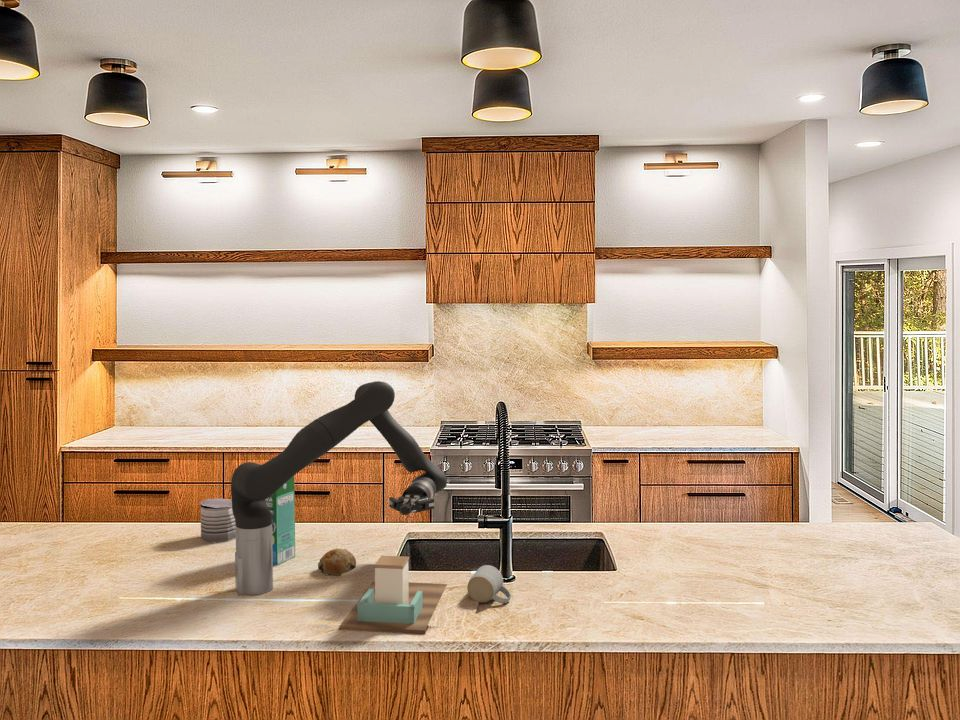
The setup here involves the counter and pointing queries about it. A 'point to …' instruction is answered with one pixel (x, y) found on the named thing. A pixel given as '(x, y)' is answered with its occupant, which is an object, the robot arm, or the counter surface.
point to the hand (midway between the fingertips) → (404, 511)
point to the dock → (389, 609)
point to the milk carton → (283, 522)
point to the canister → (392, 580)
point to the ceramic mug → (487, 585)
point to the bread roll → (337, 562)
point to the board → (430, 602)
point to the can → (217, 521)
